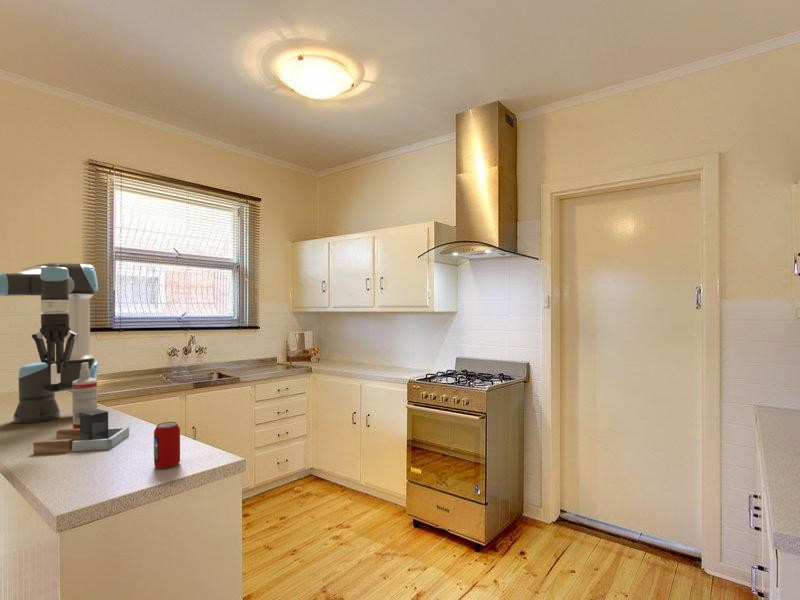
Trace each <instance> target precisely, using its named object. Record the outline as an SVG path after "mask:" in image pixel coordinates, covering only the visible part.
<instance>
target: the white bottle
mask: <svg viewBox="0 0 800 600" xmlns="http://www.w3.org/2000/svg"><path fill="white" fill-rule="evenodd" d="M71 391H72V429H80V412H84V411H90V410H95V409H98V379H97V378H96V379H94V378H91V377H90V371H89V369H88V363H87V362H85V363H82V364H81V370H80V378H79V379H77V380H75V381H73V382H72V390H71Z"/></svg>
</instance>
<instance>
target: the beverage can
mask: <svg viewBox="0 0 800 600" xmlns="http://www.w3.org/2000/svg"><path fill="white" fill-rule="evenodd" d="M180 462H181V428H180V426H179V424H178V422H177V421H166V422H161V423H158V424H156V427H155V429H154V430H153V465H154V466H155V467H156V468H158V469H163V470H164V469H171V468H174V467H176V466H177V465H178V464H179V463H180Z"/></svg>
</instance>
